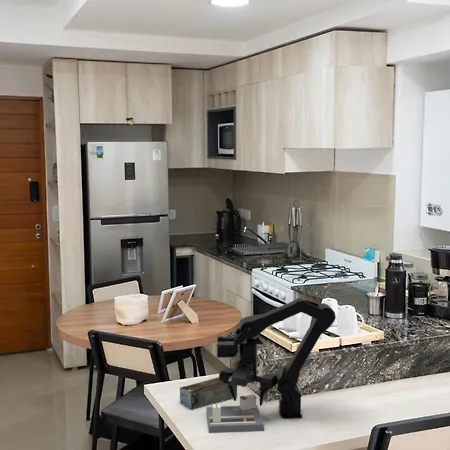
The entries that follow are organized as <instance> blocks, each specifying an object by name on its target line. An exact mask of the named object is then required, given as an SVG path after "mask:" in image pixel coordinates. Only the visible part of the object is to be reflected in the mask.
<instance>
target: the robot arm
mask: <svg viewBox="0 0 450 450" xmlns="http://www.w3.org/2000/svg"><path fill="white" fill-rule="evenodd" d="M301 313H302V314H305V315H306V316H309V317H311V320H310V323H309V327H308V329H307V330H306V332H305V334H304V336H303V338H302V339H301V340H300V343H299V345H298V346H297V348H296V350H295V351H294V353H293V355H292V357H291V358H290V360H289V362H288V363H287V364H285V366H284V365H283V364H279V368H278V370H277V372H275V374H270V373H265V374H264V375H262V376H259V375H258V374H259V370H258V367H257V366H258V362H259V358H258V345H264V342H263V339H262V338H261V337H259V336H260V334H261V333H263V332H264V331H265V330H266V329H267V328H269V327H271V326H273V325H276V324H277V323H279V322H282V321H284V320H286V319H289V318H291V317H294V316H296V315H298V314H301ZM336 317H337V316H336V313H335V311H334V309H333V308H332V307H331V306H330V305H329V304H327V303H318V302H314V301H312V300H307V299H305V298H303V297H297V298H296V299H294V300H292V301H290V302H289V301H288V302H287V303H284V304H283V305H281V306H279V307H278V306H277V307H276V308H273V309H272V310H269V311H266V312H263V313H261V314H253V315H250V316H249V315H248V316H245V317H242V318H241V320H240V321H239V323H238V328H237V329H236V330H235V331H234V333H233V334H232V336H223V335H218V336H217V342H216V358H220V359H221V358H235V357H236V356H237V355H238V354H239V355H238V356H239V357H238V358H239V359H238V361H237V366H236V368H233V367H225V368H224V369H223V370H221V371H220V372H219V374H218V377H219V380H221V381H223V383H225V384H226V385H228V387H229V389H230V391H231V394H232V397H233V398H232V400H233V401H234V402H236V401H237V397H238V387H242V388H245V387H247V385H248V384H253V382H255V383H259V385H260V387H259V388H258V389H259V407H261V406H262V405H263V403H264V401H265V399H266V397H267V394H268V392H269V391H270V390H272V389H274V387H275V386H276V388H277V391H278V392H279V394H280V399H278V412H279V414H280V416H281V418H282V419H296V418H297V419H299V418H302V417H303V415H302V411H301V410H302V409H301V408H302V393H301V390H300V389H299V386H298V380H299V375H300V372H301V370H302V368H303V366H304V365H305V363H306V361H307V359H308V357H309V356H310V355H311V352H312V351H313V350H314V347H315V346H316V344H317V342H318V340H319V338H320V337H321V336H322V334H324V332H326V331H327V330H328V329H329V328H330V327H331V326H332V325H333V323H334V322H335V320H336ZM238 347H239V348H238ZM238 349H239V350H238Z"/></svg>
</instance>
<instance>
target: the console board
mask: <svg viewBox="0 0 450 450" xmlns="http://www.w3.org/2000/svg"><path fill="white" fill-rule="evenodd" d="M206 418H207V426H208V427H207V429H208V433H209V434H210V433H211V434H212V433H215V434H216V433H234V432H235V433H237V432H242V433H243V432H261V431H262V432H263V431H265V423H264V420H263V418H262V413H261V411H260V408H259V406H258V405H257V404H256V408H252V409H250V410H244V411H243V410H242V409H240V405H233V406H232V405H231V406H230V405H229V406H221V422H219V423H213V419H212V406H206Z"/></svg>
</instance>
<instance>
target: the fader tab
mask: <svg viewBox="0 0 450 450" xmlns="http://www.w3.org/2000/svg"><path fill="white" fill-rule="evenodd" d="M211 405H212V406H211V407H212V419H213V423H219V422H221V407H222V406H221V403H214V404H211Z"/></svg>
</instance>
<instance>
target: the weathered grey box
mask: <svg viewBox="0 0 450 450" xmlns="http://www.w3.org/2000/svg"><path fill="white" fill-rule="evenodd" d="M230 398H231V399H233V397H232V394H231V391H230V389H229V387H228V385H226V384H225V383H223V381H221V380H219V376H218V377H215V378H211V379H207V380H203V381H200V382H196V383H192V384H189V385H185V386H180V387H179V403H180V404H181V405H182V404H183V405H182V406H184V405H185V406H184V407H186V408H187V407H188V409H190V410H191V411H192V410H196V409H200V408H202V406H204V407H207V406H209V404H211V405H212V403H214V404H217V403H220V402H222V401H223V400H224V401H226V400H230ZM216 402H217V403H216ZM206 405H207V406H206ZM199 407H200V408H199Z"/></svg>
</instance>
